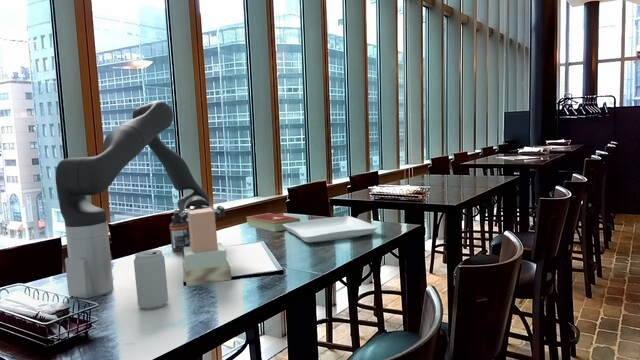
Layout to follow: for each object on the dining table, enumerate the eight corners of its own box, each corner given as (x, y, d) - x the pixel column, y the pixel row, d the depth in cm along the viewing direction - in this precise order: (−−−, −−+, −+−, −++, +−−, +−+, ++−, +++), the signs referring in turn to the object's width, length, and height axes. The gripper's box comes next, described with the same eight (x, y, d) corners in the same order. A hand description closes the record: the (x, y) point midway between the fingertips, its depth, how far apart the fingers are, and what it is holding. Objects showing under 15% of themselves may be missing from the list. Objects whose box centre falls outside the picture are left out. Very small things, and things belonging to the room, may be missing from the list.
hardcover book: (270, 222, 204) (270, 212, 204) (300, 228, 188) (299, 217, 187) (246, 226, 197) (245, 216, 196) (274, 233, 180) (274, 222, 180)
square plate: (349, 224, 189) (348, 214, 189) (379, 237, 163) (379, 226, 163) (282, 232, 181) (282, 222, 180) (303, 247, 155) (303, 235, 154)
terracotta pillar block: (194, 252, 122) (190, 214, 121) (190, 247, 128) (187, 210, 126) (217, 249, 124) (214, 210, 123) (213, 244, 130) (210, 207, 129)
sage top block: (186, 271, 120) (185, 255, 120) (184, 261, 130) (183, 247, 129) (226, 265, 123) (225, 250, 123) (222, 257, 133) (221, 242, 132)
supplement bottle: (175, 247, 163) (172, 214, 161) (192, 246, 162) (189, 213, 161) (169, 252, 157) (165, 218, 155) (187, 251, 156) (183, 217, 155)
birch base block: (187, 287, 120) (185, 272, 119) (184, 276, 130) (182, 261, 130) (231, 281, 123) (230, 265, 123) (225, 270, 134) (223, 256, 133)
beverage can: (159, 311, 103) (154, 256, 102) (132, 310, 104) (127, 256, 103) (173, 300, 109) (169, 249, 108) (148, 300, 110) (143, 249, 109)
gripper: (172, 199, 146) (173, 206, 131) (219, 195, 151) (226, 201, 135) (174, 223, 147) (175, 233, 132) (221, 218, 151) (228, 227, 136)
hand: (201, 217), depth 133 cm, fingers open, 8 cm apart
